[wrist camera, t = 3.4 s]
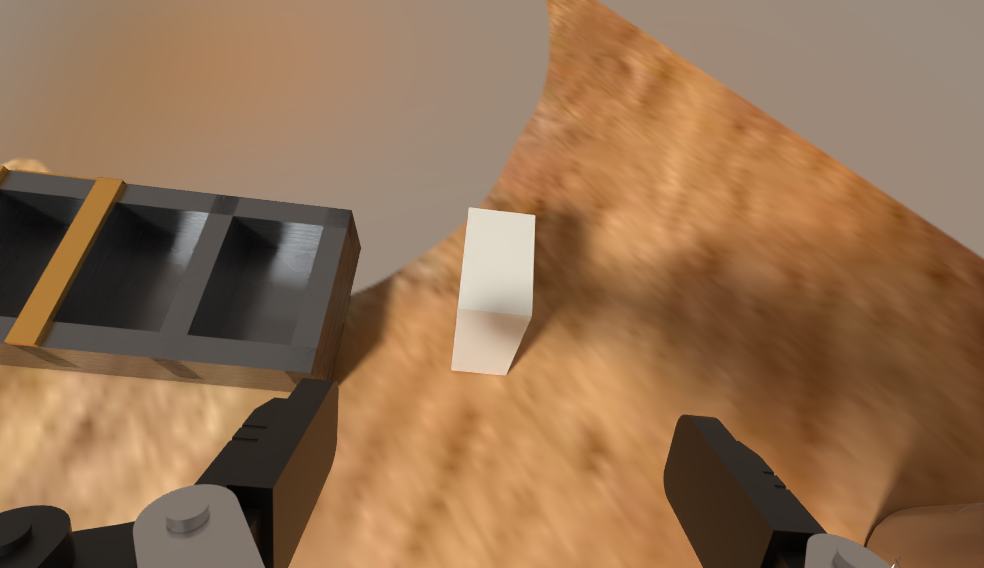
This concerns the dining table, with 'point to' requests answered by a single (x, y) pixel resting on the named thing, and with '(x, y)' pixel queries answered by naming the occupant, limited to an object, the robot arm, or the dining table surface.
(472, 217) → the white rectangular block
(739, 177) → the dining table surface
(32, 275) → the slot rack
